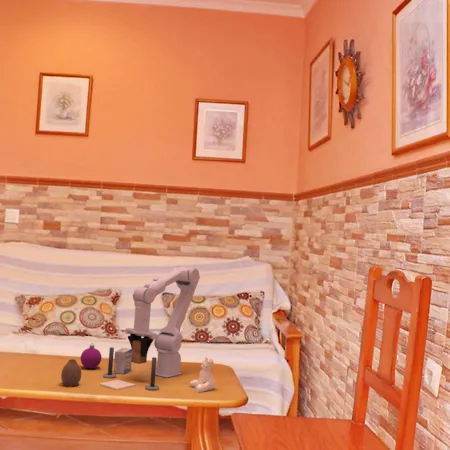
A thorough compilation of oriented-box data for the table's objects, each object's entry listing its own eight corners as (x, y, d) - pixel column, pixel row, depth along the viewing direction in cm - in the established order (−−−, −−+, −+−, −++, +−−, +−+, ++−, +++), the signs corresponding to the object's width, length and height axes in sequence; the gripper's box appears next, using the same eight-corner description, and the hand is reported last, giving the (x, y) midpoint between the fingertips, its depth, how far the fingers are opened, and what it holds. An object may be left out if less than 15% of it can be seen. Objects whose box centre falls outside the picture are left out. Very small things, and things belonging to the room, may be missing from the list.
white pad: (117, 380, 209) (117, 379, 209) (135, 385, 203) (135, 384, 203) (99, 384, 201) (99, 383, 201) (116, 390, 196) (116, 388, 196)
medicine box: (123, 374, 219) (125, 352, 219) (113, 373, 220) (114, 351, 220) (131, 370, 227) (132, 348, 227) (120, 369, 228) (122, 347, 228)
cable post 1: (110, 374, 218) (112, 346, 218) (119, 377, 215) (121, 348, 215) (100, 376, 213) (102, 347, 214) (109, 379, 211) (111, 349, 211)
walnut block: (138, 360, 214) (140, 339, 214) (146, 362, 211) (147, 341, 212) (131, 362, 210) (132, 340, 211) (138, 363, 208) (140, 342, 208)
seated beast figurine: (188, 385, 209) (190, 353, 209) (210, 385, 212) (212, 353, 212) (196, 392, 200) (198, 358, 200) (218, 392, 203) (221, 358, 203)
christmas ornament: (79, 370, 221) (81, 344, 221) (79, 365, 229) (81, 341, 229) (100, 370, 223) (102, 345, 223) (100, 366, 231) (102, 341, 231)
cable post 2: (151, 386, 205) (154, 355, 205) (162, 389, 202) (164, 358, 202) (142, 388, 201) (144, 357, 201) (152, 391, 198) (154, 360, 198)
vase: (62, 387, 194) (64, 362, 195) (58, 382, 200) (60, 358, 201) (82, 386, 198) (84, 361, 198) (78, 381, 204) (80, 357, 204)
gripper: (120, 317, 212) (118, 353, 212) (148, 322, 204) (146, 360, 204) (134, 316, 218) (131, 351, 218) (161, 321, 210) (159, 357, 209)
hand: (139, 355), depth 211 cm, fingers closed on walnut block, 4 cm apart
